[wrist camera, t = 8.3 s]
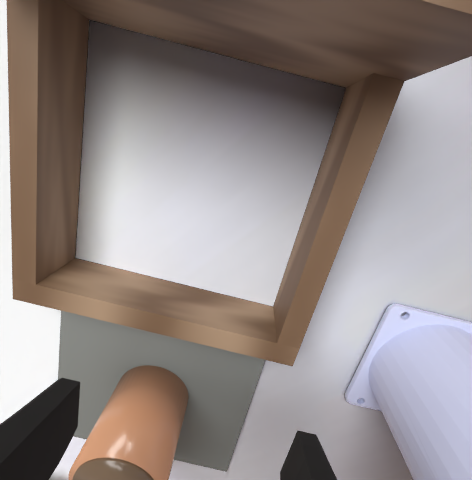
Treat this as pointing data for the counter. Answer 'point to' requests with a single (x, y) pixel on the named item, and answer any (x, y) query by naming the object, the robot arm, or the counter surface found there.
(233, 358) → the slate mat
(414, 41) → the potting tray
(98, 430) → the peach orange cylinder
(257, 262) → the counter surface
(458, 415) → the robot arm
